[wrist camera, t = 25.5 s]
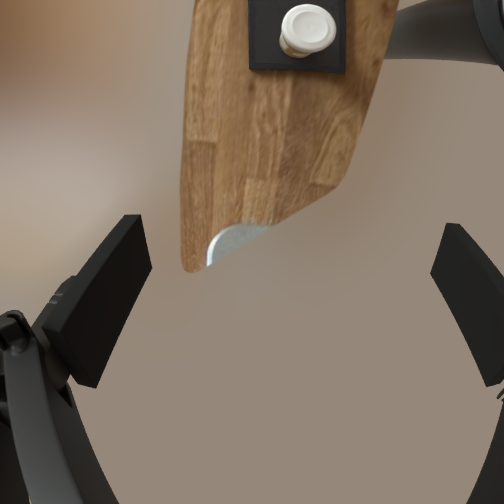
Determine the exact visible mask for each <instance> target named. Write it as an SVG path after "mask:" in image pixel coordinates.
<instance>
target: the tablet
mask: <svg viewBox="0 0 504 504" xmlns="http://www.w3.org/2000/svg"><path fill="white" fill-rule="evenodd" d="M303 4H311V5H316V6H319V7H321V8H323V9H325V10H326V11H327V12H328V13H329V14H330V15H331V16H332V18H333V19H334V21H335V24H336V35H335V38H334V40H333V42H332V43H331V44H330V45H329V46H328V47H326V48H325V49H323V50H321V51H318V52H313V53H311V54H310V55H308V56H306V57H303V58H296V57H291V56H289V55H287V54H286V53H285V52H284V51H283V50H282V48H281V46H280V42H279V39H280V35H281V32H282V22H283V19H284V17H285V15H286V14H287V12H288V11H290V10H291V9H292V8H294V7H296V6H299V5H303ZM248 27H249V69H250V70H255V69H270V70H302V71H318V72H330V73H340V74H345V0H248Z"/></svg>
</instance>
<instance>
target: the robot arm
mask: <svg viewBox="0 0 504 504" xmlns="http://www.w3.org/2000/svg"><path fill="white" fill-rule="evenodd" d="M498 9H499V15H500V20H501V23H502V27H503V29H504V0H498ZM151 269H152V265H151V261H150V256H149V252H148V247H147V243H146V238H145V233H144V228H143V224H142V219H141V215H124V216H123V218H122V219H121V220H120V221H119V222H118V224H117V225H116V226H115V227H114V228H113V230H112V231H111V232H110V233H109V234H108V236H107V237H106V238H105V239H104V240H103V242H102V243H101V244H100V245H99V247H98V248H97V249H96V251H95V252H94V253H93V254H92V256H91V257H90V258H89V259H88V261H87V262H86V263H85V265H84V266H83V268H82V269H81V270H80V272H79V273H78V274H77V275H76V276H71V277H70V278H68V279H67V280H66V281H64V282H63V283H62V284H61V285H60V287H59V288H58V290H57V291H56V292H55V295H53V296H52V298H51V299H50V301H49V303H47V305H46V306H45V308H44V309H43V310H42V312H41V313H40V315H39V316H38V318H37V319H36V321H35V322H34V324H33V325H32V327H30V326H29V324H28V322H27V320H26V318H25V317H24V315H23V313H21V312H20V311H18V310H11V311H8V312H6V313H4V314H2V315H1V316H0V504H30V502H29V497H30V500H31V503H32V504H119V503H118V501H117V499H116V497H115V495H114V493H113V491H112V489H111V487H110V485H109V484H108V481H107V480H106V477H105V475H104V473H103V471H102V469H101V467H100V464H99V462H98V460H97V458H96V456H95V453H94V451H93V449H92V446H91V444H90V441H89V439H88V436H87V434H86V431H85V429H84V426H83V423H82V421H81V418H80V415H79V412H78V409H77V406H76V403H75V401H74V397H73V394H72V391H71V388H70V386H69V384H68V383H67V380H68V378H69V376H70V374H71V375H72V377H73V378H74V379H75V381H76V382H77V383H78V384H80V385H84V386H87V387H92V388H97V385H98V383H99V381H100V378H101V376H102V373H103V371H104V369H105V366H106V364H107V362H108V360H109V357H110V355H111V353H112V351H113V348H114V346H115V344H116V342H117V339H118V337H119V335H120V333H121V331H122V329H123V326H124V324H125V322H126V320H127V318H128V316H129V314H130V312H131V310H132V308H133V305H134V303H135V301H136V299H137V297H138V295H139V293H140V291H141V289H142V287H143V285H144V283H145V281H146V279H147V277H148V275H149V273H150V272H151ZM430 274H431V276H432V278H433V279H434V281H435V283H436V284H437V286H438V288H439V290H440V292H441V293H442V295H443V297H444V299H445V301H446V303H447V304H448V306H449V308H450V310H451V312H452V314H453V316H454V318H455V320H456V322H457V324H458V326H459V328H460V330H461V332H462V334H463V336H464V338H465V340H466V342H467V344H468V346H469V348H470V350H471V353H472V355H473V357H474V359H475V361H476V364H477V366H478V368H479V370H480V373H481V375H482V378H483V380H484V383H485V385H486V387H488V386H493V385H496V384H500V383H501V382H502V381H503V379H504V277H503V275H502V274H501V273H500V271H499V270H498V269H497V268H496V266H495V265H494V264H493V263H492V261H491V260H490V259H489V258H488V256H487V255H486V254H485V253H484V252H483V250H482V249H481V248H480V247H479V246H478V244H477V243H476V242H475V241H474V240H473V239H472V237H471V236H470V235H469V234H468V233H467V232H466V231H465V230H464V228H463V227H462V226H461V225H460V224H454V223H446V226H445V229H444V233H443V236H442V239H441V243H440V246H439V249H438V252H437V255H436V258H435V261H434V264H433V267H432V270H431V273H430ZM503 394H504V388H503V390H502V391H501V392H500V393H499V394H498V396H497V399H499V398H500V397H501V396H502V395H503ZM502 401H503V405H502V409H501V413H500V417H499V420H498V423H497V427H496V430H495V433H494V436H493V440H492V442H491V445H490V448H489V451H488V454H487V457H486V460H485V462H484V465H483V467H482V470H481V472H480V475H479V477H478V479H477V482H476V484H475V486H474V489H473V491H472V493H471V495H470V497H469V499H468V501H467V503H466V504H504V398H503V399H502Z"/></svg>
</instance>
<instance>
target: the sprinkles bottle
mask: <svg viewBox="0 0 504 504" xmlns="http://www.w3.org/2000/svg"><path fill="white" fill-rule="evenodd" d="M335 35H336V24H335V21H334V19H333V18H332V16H331V15H330V14H329V13H328V12H327V11H326V10H325V9H323V8H321V7H319V6H316V5H311V4H303V5H299V6H296V7H294V8H292V9H291V10H290V11H288V12H287V14H286V15H285V17H284V19H283V22H282V32H281V35H280V39H279V42H280V46H281V48H282V50H283V51H284V52H285V53H286V54H287V55H289V56H291V57H296V58H303V57H306V56H308V55H310V54H311V53H313V52H318V51H321V50H323V49H325V48H326V47H328V46H329V45H330V44H331V43H332V42H333V40H334V38H335Z"/></svg>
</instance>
